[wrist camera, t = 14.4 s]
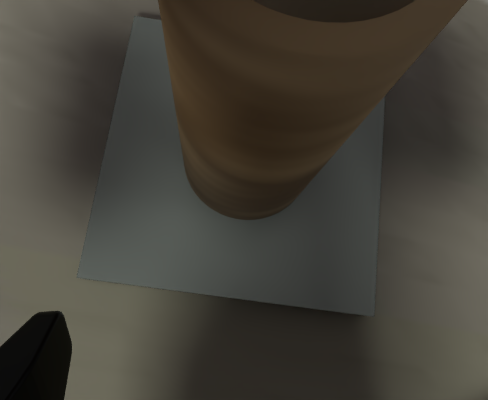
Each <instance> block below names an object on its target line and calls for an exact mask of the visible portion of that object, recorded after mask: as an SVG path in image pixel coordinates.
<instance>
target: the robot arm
mask: <svg viewBox="0 0 488 400" xmlns="http://www.w3.org/2000/svg"><path fill="white" fill-rule="evenodd" d="M71 354H72V342H71V338H70V335H69V331H68V328H67V324H66V321H65V318H64V315H63V314H62V312H60V311H48V312H39V313H37V314H35V315H34V316H32V317H31V318H30V319H29V320H28V321H27V322H26V323H25V324H24V325H23V326H22V327H21V328H20V329H19V330H18V331H16V332H15V333H14V334H13V335H12V336H11V337H10V338H9V339H8V340H7V341H6V342H5V343H4V344H3V345H2V346H1V347H0V400H64V396H65V390H66V385H67V379H68V373H69V367H70V361H71Z"/></svg>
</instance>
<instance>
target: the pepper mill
mask: <svg viewBox="0 0 488 400" xmlns="http://www.w3.org/2000/svg"><path fill="white" fill-rule="evenodd" d="M158 2H159V9H160V15H161V21H162V28H163V34H164V40H165V47H166V53H167V59H168V66H169V72H170V78H171V85H172V91H173V97H174V104H175V110H176V117H177V123H178V129H179V136H180V142H181V148H182V155H183V161H184V167H185V172H186V176H187V179H188V181H189V183H190V185H191V187H192V189H193V191H194V192H195V194H196V195H197V196H198V197H199V198H200V200H201V201H203V202H204V203H205V204H206V205H207V206H208V207H210V208H211V209H213V210H214V211H216V212H218V213H220V214H222V215H225V216H227V217H230V218H235V219H241V220H256V219H262V218H266V217H269V216H272V215H274V214H276V213H279V212H280V211H282V210H283V209H285V208H286V207H288V206H289V205H290V204H291V203H292V202H293V201H294V200H295V199H296V198H297V197H298V195H299V194H300V193H301V192H302V191H303V190H304V188H305V187H306V186H307V185H308V184H309V183H310V182H311V180H312V179H313V178H314V177H315V176H316V175H317V173H318V172H319V171H320V170H321V169H322V168H323V167H324V165H325V164H326V163H327V162H328V161H329V160H330V158H331V157H332V156H333V155H334V154H335V153H336V152H337V150H338V149H339V148H340V147H341V146H342V145H343V143H344V142H345V141H346V140H347V139H348V138H349V137H350V135H351V134H352V133H353V132H354V131H355V130H356V129H357V127H358V126H359V125H360V124H361V123H362V122H363V120H364V119H365V118H366V117H367V116H368V115H369V114H370V112H371V111H372V110H373V109H374V108H375V107H376V105H377V104H378V103H379V102H380V101H381V100H382V99H383V97H384V96H385V95H386V94H387V93H388V92H389V90H390V89H391V88H392V87H393V86H394V85H395V84H396V82H397V81H398V80H399V79H400V78H401V77H402V75H403V74H404V73H405V72H406V71H407V70H408V69H409V67H410V66H411V65H412V64H413V63H414V62H415V60H416V59H417V58H418V57H419V56H420V55H421V54H422V52H423V51H424V50H425V49H426V48H427V47H428V46H429V44H430V43H431V42H432V41H433V40H434V39H435V37H436V36H437V35H438V34H439V33H440V32H441V31H442V29H443V28H444V27H445V26H446V25H447V24H448V22H449V21H450V20H451V19H452V18H453V17H454V16H455V14H456V13H457V12H458V11H459V10H460V9H461V7H462V6H463V5H464V4H465V3H466V2H467V0H158Z"/></svg>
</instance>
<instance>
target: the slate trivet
mask: <svg viewBox="0 0 488 400" xmlns="http://www.w3.org/2000/svg"><path fill="white" fill-rule="evenodd" d="M384 108H385V96H384V97H383V99H382V100H381V101H380V102H379V103H378V104H377V105H376V107H375V108H374V109H373V110H372V111H371V112H370V114H369V115H368V116H367V117H366V118H365V119H364V120H363V122H362V123H361V124H360V125H359V126H358V127H357V129H356V130H355V131H354V132H353V133H352V134H351V135H350V137H349V138H348V139H347V140H346V141H345V142H344V143H343V145H342V146H341V147H340V148H339V149H338V150H337V152H336V153H335V154H334V155H333V156H332V157H331V158H330V160H329V161H328V162H327V163H326V164H325V165H324V167H323V168H322V169H321V170H320V171H319V172H318V173H317V175H316V176H315V177H314V178H313V179H312V180H311V182H310V183H309V184H308V185H307V186H306V187H305V188H304V190H303V191H302V192H301V193H300V194H299V195H298V197H297V198H296V199H295V200H294V201H293V202H292V203H291V204H290V205H289V206H288V207H286V208H285V209H283V210H282V211H280V212H279V213H276V214H274V215H272V216H269V217H266V218H262V219H256V220H241V219H235V218H230V217H227V216H225V215H222V214H220V213H218V212H216V211H214V210H213V209H211V208H210V207H208V206H207V205H206V204H205V203H204V202H203V201H201V200H200V198H199V197H198V196H197V195H196V194H195V192H194V191H193V189H192V187H191V185H190V183H189V181H188V179H187V176H186V172H185V167H184V161H183V155H182V148H181V142H180V136H179V129H178V123H177V117H176V110H175V104H174V97H173V91H172V85H171V78H170V72H169V66H168V59H167V53H166V47H165V40H164V34H163V28H162V21H161V20H157V19H151V18H145V17H139V16H134V20H133V25H132V29H131V34H130V38H129V43H128V47H127V52H126V56H125V61H124V65H123V70H122V74H121V79H120V84H119V88H118V93H117V97H116V102H115V106H114V111H113V115H112V120H111V124H110V129H109V133H108V138H107V142H106V147H105V151H104V156H103V160H102V165H101V169H100V174H99V178H98V183H97V187H96V192H95V197H94V201H93V206H92V210H91V215H90V219H89V224H88V228H87V233H86V237H85V242H84V246H83V251H82V255H81V260H80V264H79V269H78V273H77V278H82V279H88V280H96V281H103V282H111V283H119V284H126V285H134V286H142V287H149V288H157V289H164V290H172V291H180V292H187V293H195V294H202V295H210V296H218V297H225V298H233V299H240V300H248V301H256V302H263V303H271V304H279V305H286V306H294V307H301V308H309V309H317V310H324V311H332V312H339V313H347V314H355V315H362V316H372V317H374V312H375V292H376V271H377V251H378V230H379V210H380V190H381V169H382V149H383V128H384Z"/></svg>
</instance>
